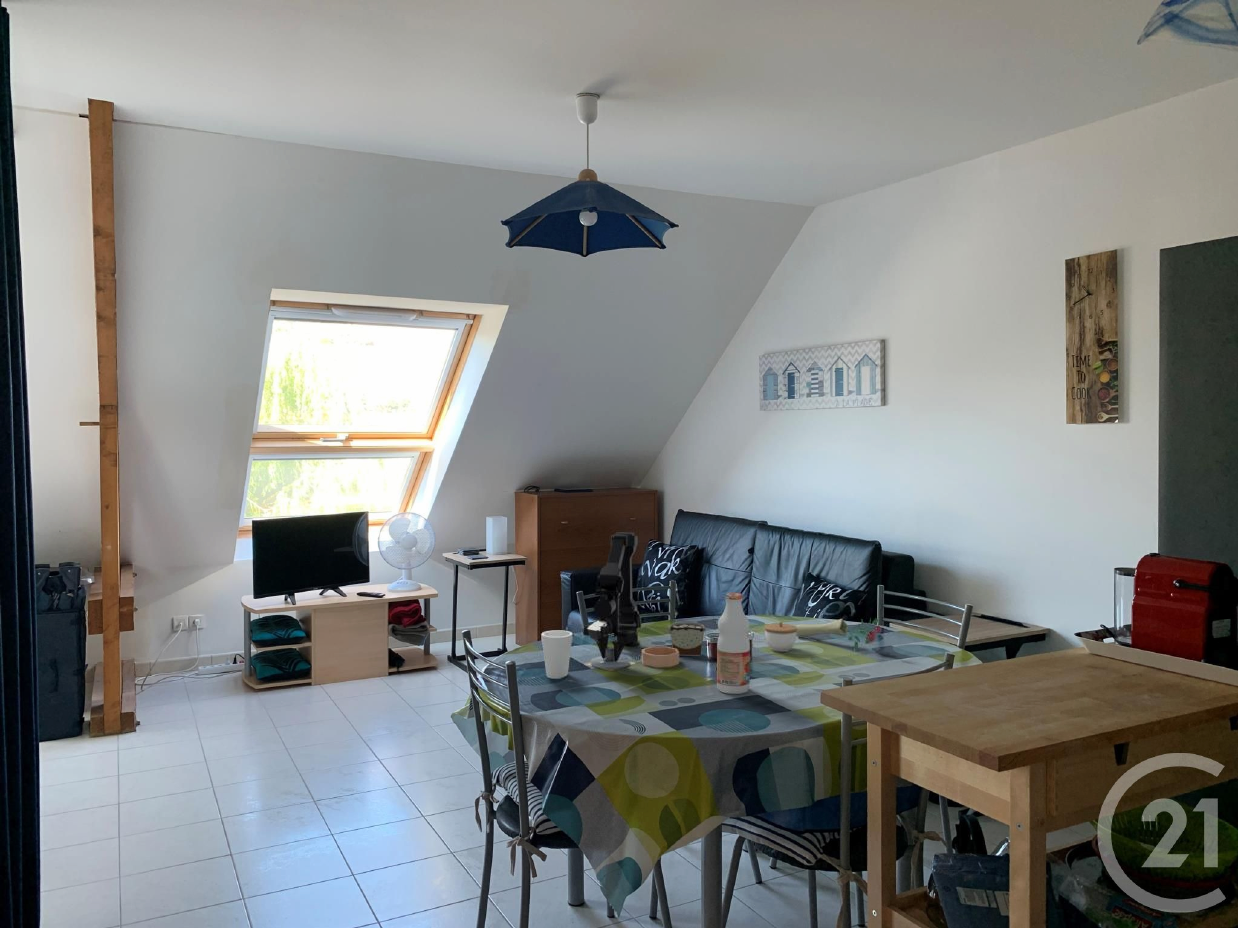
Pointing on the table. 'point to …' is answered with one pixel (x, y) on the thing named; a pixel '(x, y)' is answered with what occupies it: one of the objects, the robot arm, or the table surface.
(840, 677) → the table surface
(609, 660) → the lid
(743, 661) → the fruit juice
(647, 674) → the table surface
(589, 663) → the mat
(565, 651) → the foam cup
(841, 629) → the flower vase
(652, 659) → the bowl
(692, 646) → the food container
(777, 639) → the lidded jar
